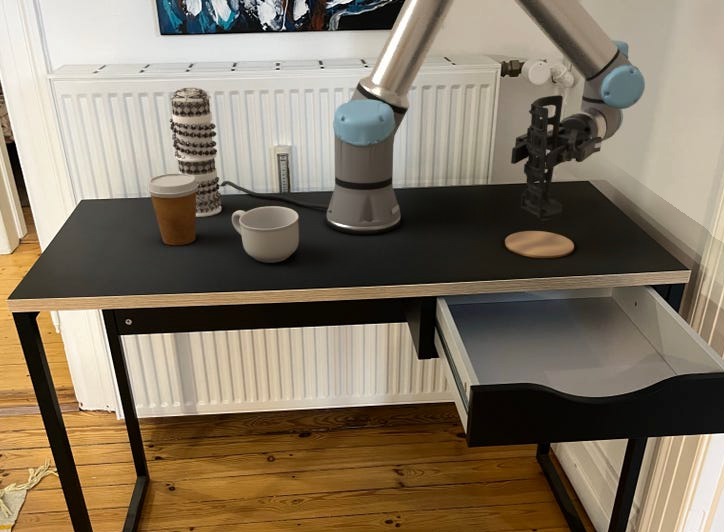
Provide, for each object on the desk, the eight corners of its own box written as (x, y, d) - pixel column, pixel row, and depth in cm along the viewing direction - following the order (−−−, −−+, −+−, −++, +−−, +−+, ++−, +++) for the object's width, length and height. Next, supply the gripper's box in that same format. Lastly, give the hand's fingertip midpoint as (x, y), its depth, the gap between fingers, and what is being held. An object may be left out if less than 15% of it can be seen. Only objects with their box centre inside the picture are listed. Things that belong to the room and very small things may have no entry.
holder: (562, 222, 138) (574, 109, 127) (519, 221, 139) (528, 109, 129) (561, 201, 147) (572, 93, 136) (521, 199, 148) (529, 93, 138)
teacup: (312, 256, 143) (310, 215, 139) (268, 273, 136) (265, 230, 132) (263, 237, 151) (260, 198, 147) (219, 252, 144) (215, 212, 140)
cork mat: (493, 248, 146) (493, 245, 146) (522, 228, 155) (522, 226, 155) (557, 263, 139) (558, 261, 139) (584, 242, 148) (584, 239, 148)
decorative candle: (171, 213, 164) (155, 91, 151) (198, 201, 171) (186, 84, 158) (204, 220, 160) (192, 96, 147) (231, 207, 167) (221, 88, 154)
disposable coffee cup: (213, 235, 152) (207, 175, 146) (184, 251, 145) (177, 189, 139) (174, 228, 156) (166, 170, 150) (144, 244, 148) (135, 183, 142)
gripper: (623, 158, 148) (578, 189, 131) (533, 144, 157) (481, 171, 141) (630, 119, 144) (585, 145, 128) (537, 107, 153) (484, 130, 137)
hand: (530, 158), depth 134 cm, fingers closed on holder, 6 cm apart
